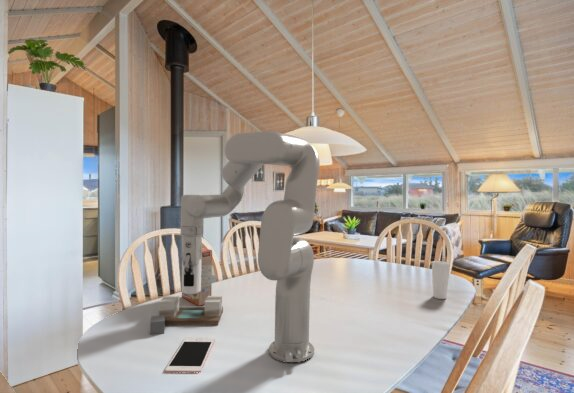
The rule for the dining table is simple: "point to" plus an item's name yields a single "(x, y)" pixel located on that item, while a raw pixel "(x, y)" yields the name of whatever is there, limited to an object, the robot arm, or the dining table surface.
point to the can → (197, 280)
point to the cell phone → (191, 355)
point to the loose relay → (157, 324)
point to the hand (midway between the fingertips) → (191, 282)
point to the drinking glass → (440, 279)
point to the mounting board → (191, 311)
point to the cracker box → (203, 280)
